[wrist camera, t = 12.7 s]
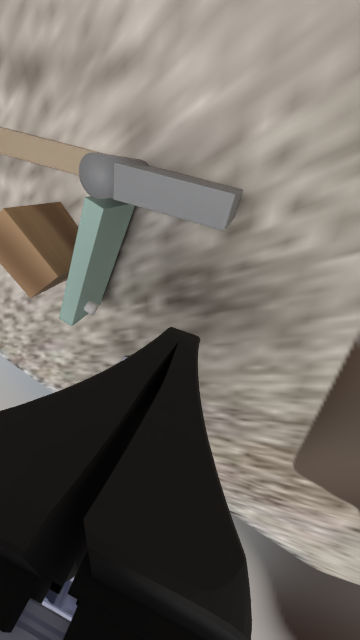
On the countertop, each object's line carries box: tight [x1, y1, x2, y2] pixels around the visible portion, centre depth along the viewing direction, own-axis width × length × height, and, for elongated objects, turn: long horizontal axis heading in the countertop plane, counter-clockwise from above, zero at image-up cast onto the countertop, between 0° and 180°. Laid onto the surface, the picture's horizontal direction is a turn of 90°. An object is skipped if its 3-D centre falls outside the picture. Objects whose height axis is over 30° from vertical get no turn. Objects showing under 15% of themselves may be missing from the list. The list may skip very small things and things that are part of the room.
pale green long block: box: [59, 196, 135, 326], centre depth 17 cm, size 10×3×4 cm, turn 152°
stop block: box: [0, 202, 78, 298], centre depth 18 cm, size 4×5×5 cm
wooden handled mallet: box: [0, 127, 243, 231], centre depth 14 cm, size 2×21×5 cm, turn 78°
